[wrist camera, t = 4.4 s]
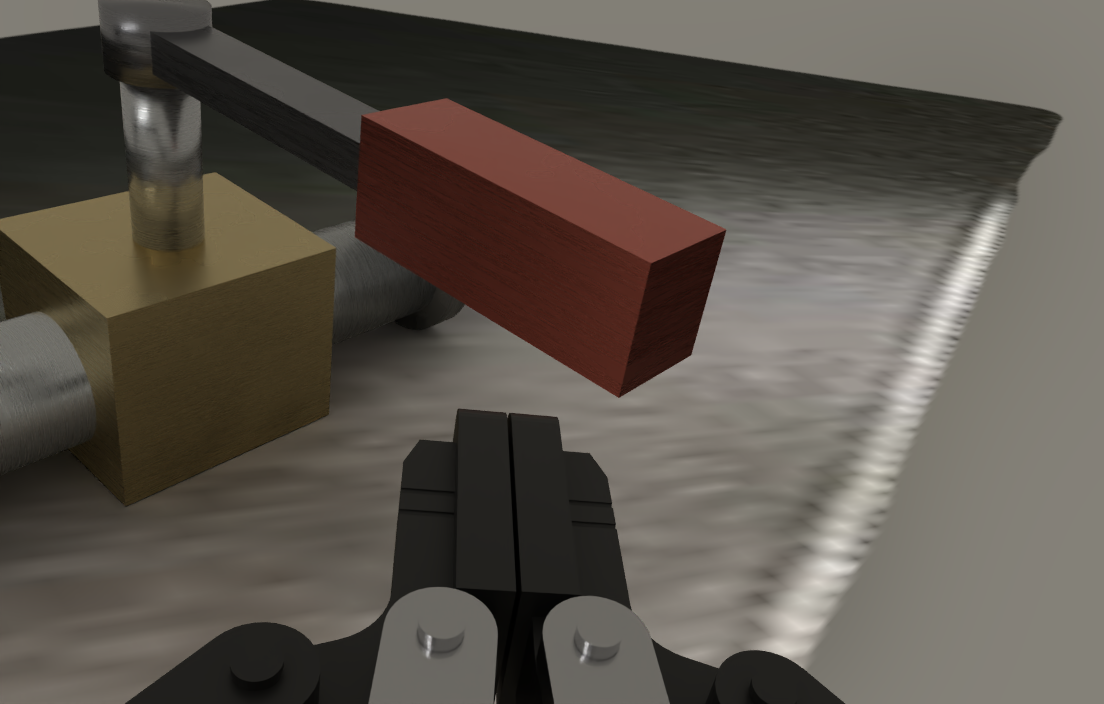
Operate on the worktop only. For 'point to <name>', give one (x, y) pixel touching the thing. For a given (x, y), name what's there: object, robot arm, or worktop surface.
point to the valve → (179, 314)
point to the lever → (458, 199)
